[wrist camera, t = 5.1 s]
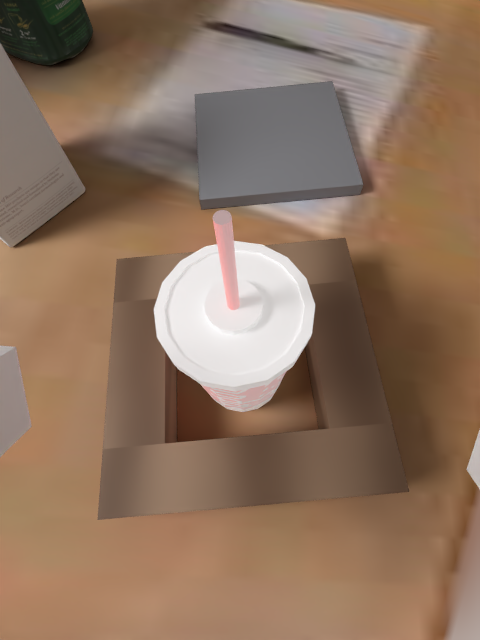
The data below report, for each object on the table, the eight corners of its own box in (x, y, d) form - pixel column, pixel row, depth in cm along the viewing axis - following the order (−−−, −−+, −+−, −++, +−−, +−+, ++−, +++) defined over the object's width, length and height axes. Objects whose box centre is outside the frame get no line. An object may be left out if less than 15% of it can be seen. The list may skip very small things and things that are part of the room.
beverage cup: (174, 401, 21) (51, 278, 8) (216, 314, 23) (168, 113, 11) (272, 442, 20) (300, 370, 7) (306, 346, 22) (373, 162, 10)
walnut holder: (120, 514, 19) (97, 519, 16) (132, 284, 25) (116, 259, 22) (387, 490, 19) (409, 491, 16) (335, 265, 25) (345, 237, 22)
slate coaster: (201, 209, 27) (199, 199, 26) (196, 105, 32) (194, 94, 31) (359, 194, 27) (363, 184, 26) (330, 92, 32) (332, 81, 31)
